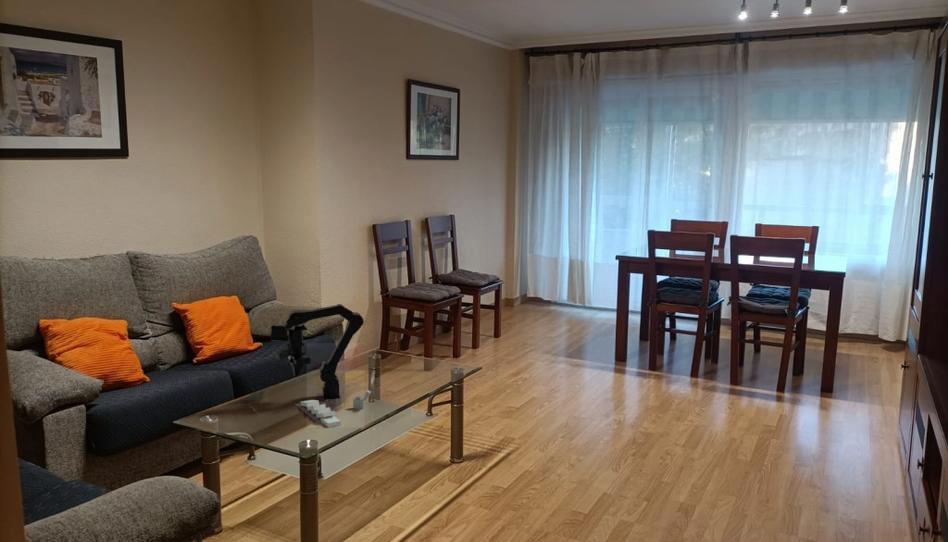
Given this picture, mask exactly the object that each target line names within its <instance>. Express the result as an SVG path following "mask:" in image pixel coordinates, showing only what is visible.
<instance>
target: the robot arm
mask: <svg viewBox="0 0 948 542" xmlns="http://www.w3.org/2000/svg"><path fill="white" fill-rule="evenodd" d="M336 315H339V316H341V317H342V318H344V319H345V320H346V325H345V329H344V331H343V334H342V335H341V336H340V339H339V341H338V342H337V343H336V346H335V348H334V349H333V352H332V354H331V356H330V357H329V359H327V360H323V361H322V363H321V366H319V367H318V369H319V372H318V374H319V378H320V380H321V381H322V382H323V386H322V388H321V390H322V391H321V395H322V398H323V399H324V400H335V399H336V400H337V399H341V396H340V381H339V377H338V376H337V374H336V371H337V367H338V364H339V363H340V361H341V358H342V357H343V355H344V353H345V351H346V349H347V347H348V346H349V344H350V342H351V340H352V338H353V337H354V336H355V334H356V333H357V332H358V331H360V329H361V327H362V326H363V324H364V323H365V321H364V318H363V316H362V315H361V313H359V312H353V311H352V310H350V309H349V308H347V307H346V306H344V305H343V304H342V303H338V304H335V305H331V306H325V307H320V308H315V309H294V310H291V311H290V312H289V313H288V318H287V320H286V321H285V322H284V324H271V326H270V330H271V331H270V342H284V341H285V340H286V339H288V341H287V343H286V346H284V347H281V348H279V349H277V350H275V351H274V354H275V356H276V359H277V360H279V361H282V360H284V359H286V358H288V359H286V361H287V362H289V364H290V366H291V369H292V373H293V375H294V377H295V378H297V377H298V376H299V374H300V372H301V370H302V368H303V366H304V365H310V364H312V362H311V357H309V356H308V355H305V352H304V350H303V349H304V346H305V343H304V341H303V340H304V331H308V327H307V326H306V325H305V323H307V322H310V321H312V320H317V319H323V318H327V317H332V316H336Z"/></svg>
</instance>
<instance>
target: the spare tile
mask: <svg viewBox="0 0 948 542" xmlns="http://www.w3.org/2000/svg"><path fill="white" fill-rule="evenodd" d="M300 403H301V406H306V407H308V406H314V405H320V401H319V400H316V399H309V400H303V401H302V400H301V401H300Z"/></svg>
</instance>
